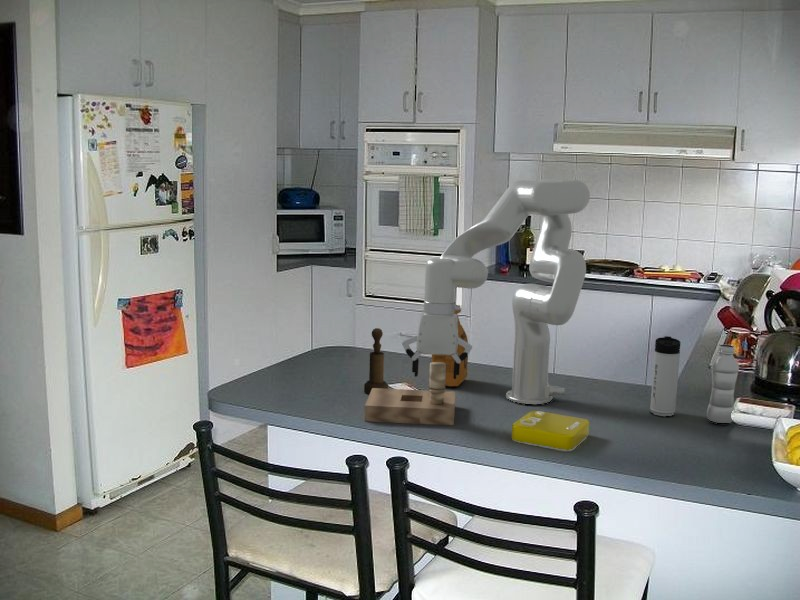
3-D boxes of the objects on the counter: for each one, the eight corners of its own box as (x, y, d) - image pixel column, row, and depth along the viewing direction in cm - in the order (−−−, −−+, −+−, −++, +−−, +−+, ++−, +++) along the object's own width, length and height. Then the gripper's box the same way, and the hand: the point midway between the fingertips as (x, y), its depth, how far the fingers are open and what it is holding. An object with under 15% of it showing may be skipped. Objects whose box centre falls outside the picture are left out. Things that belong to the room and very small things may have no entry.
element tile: (570, 455, 196) (571, 434, 195) (508, 442, 203) (509, 423, 203) (590, 437, 209) (592, 417, 208) (531, 425, 216) (532, 407, 215)
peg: (445, 401, 220) (446, 362, 219) (444, 405, 216) (446, 366, 215) (428, 400, 221) (430, 361, 219) (428, 404, 217) (429, 365, 215)
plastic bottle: (700, 420, 222) (706, 344, 219) (721, 418, 225) (728, 342, 221) (717, 428, 216) (724, 349, 213) (739, 425, 219) (746, 348, 215)
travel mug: (674, 411, 230) (680, 337, 226) (675, 418, 224) (681, 342, 220) (649, 408, 231) (655, 335, 228) (649, 416, 225) (655, 340, 222)
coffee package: (472, 380, 256) (475, 306, 252) (458, 390, 245) (461, 313, 241) (441, 376, 260) (443, 303, 256) (425, 386, 249) (428, 310, 245)
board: (454, 406, 230) (455, 391, 229) (453, 425, 214) (454, 409, 213) (372, 402, 231) (372, 387, 231) (364, 421, 216) (364, 405, 215)
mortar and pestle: (389, 389, 244) (390, 326, 241) (386, 396, 238) (388, 331, 235) (365, 388, 245) (366, 325, 242) (362, 394, 238) (363, 330, 235)
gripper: (474, 308, 217) (470, 375, 220) (405, 304, 219) (402, 370, 221) (474, 313, 210) (470, 382, 213) (402, 309, 211) (399, 378, 214)
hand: (435, 376), depth 217 cm, fingers open, 9 cm apart
